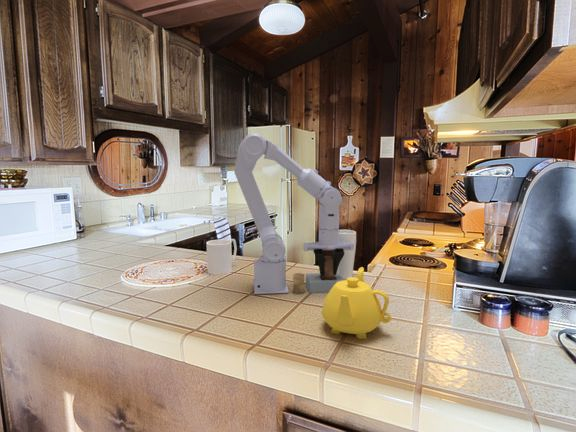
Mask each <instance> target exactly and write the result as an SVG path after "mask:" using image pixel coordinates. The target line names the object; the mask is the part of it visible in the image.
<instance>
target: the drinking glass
mask: <svg viewBox="0 0 576 432" xmlns="http://www.w3.org/2000/svg"><path fill="white" fill-rule="evenodd" d="M339 242H352V243H354V250H343V251H344V256H343V258H342V259H341V261H340V264H339V266H338V269H337V273H339V275H340V276H341V277H342V279H343V280H347V278H349V277H354V276H353V275H354V265H355V264H354V263H355V256H356V247H357V246H356V245H357V231H355V230H352V229H339Z"/></svg>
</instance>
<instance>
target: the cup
mask: <svg viewBox="0 0 576 432" xmlns="http://www.w3.org/2000/svg"><path fill="white" fill-rule="evenodd" d="M232 243H233V247H234V250H232ZM237 247H238V246H237V241H236V239H235V238H231V239H213V240H212V239H211V240H208V241H206V263H207V264H206V267H207V269H206V270H207V274H210V275H213V276H223V275H228V274H229V273H232V272H233V261H235V259H236V257H237V251H238V250H237V249H238V248H237ZM232 251H233V253H232ZM232 254H233V255H232Z"/></svg>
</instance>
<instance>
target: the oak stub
mask: <svg viewBox="0 0 576 432" xmlns="http://www.w3.org/2000/svg"><path fill="white" fill-rule="evenodd" d="M292 293H293V294H295V295H302V294H304V293H305V274H304V273H301V272H297V273H294V274H292Z"/></svg>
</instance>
